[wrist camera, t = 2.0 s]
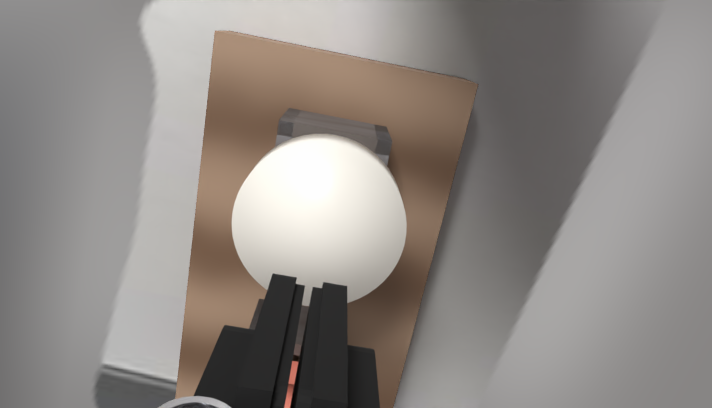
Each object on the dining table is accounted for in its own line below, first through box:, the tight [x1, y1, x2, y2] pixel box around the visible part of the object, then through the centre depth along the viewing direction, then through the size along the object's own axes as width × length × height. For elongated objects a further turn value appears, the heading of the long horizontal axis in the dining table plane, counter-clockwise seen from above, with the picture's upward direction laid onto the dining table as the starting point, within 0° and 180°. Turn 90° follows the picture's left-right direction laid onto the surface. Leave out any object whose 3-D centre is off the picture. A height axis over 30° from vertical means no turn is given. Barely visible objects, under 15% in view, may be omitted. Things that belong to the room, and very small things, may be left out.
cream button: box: [232, 134, 407, 306], centre depth 19 cm, size 6×6×5 cm
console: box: [175, 31, 478, 408], centre depth 26 cm, size 20×12×6 cm, turn 169°
